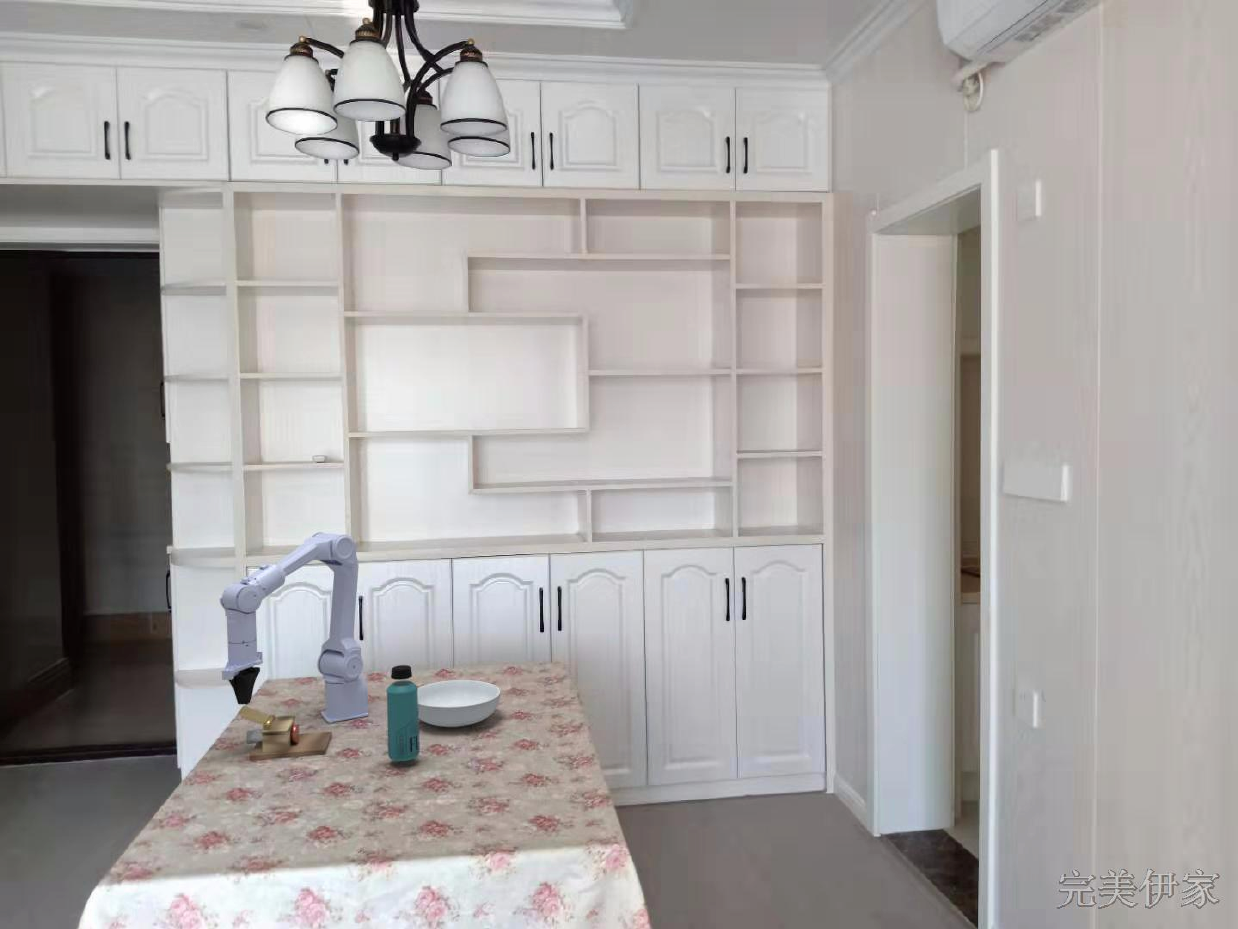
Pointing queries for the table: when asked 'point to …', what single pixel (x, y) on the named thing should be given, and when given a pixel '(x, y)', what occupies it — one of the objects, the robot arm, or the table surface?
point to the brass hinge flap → (255, 715)
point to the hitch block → (288, 741)
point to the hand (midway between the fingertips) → (244, 703)
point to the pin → (256, 735)
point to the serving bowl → (457, 702)
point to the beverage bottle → (402, 716)
